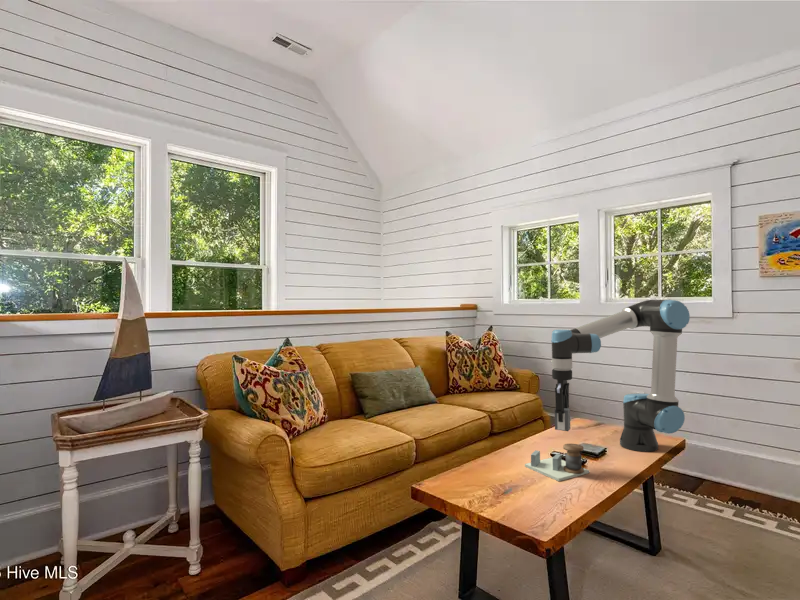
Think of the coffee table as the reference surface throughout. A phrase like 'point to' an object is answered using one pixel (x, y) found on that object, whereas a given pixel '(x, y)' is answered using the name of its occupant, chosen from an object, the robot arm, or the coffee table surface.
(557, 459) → the notch
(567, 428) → the gray rectangular block
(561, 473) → the board
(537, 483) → the coffee table surface
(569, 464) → the bobbin
